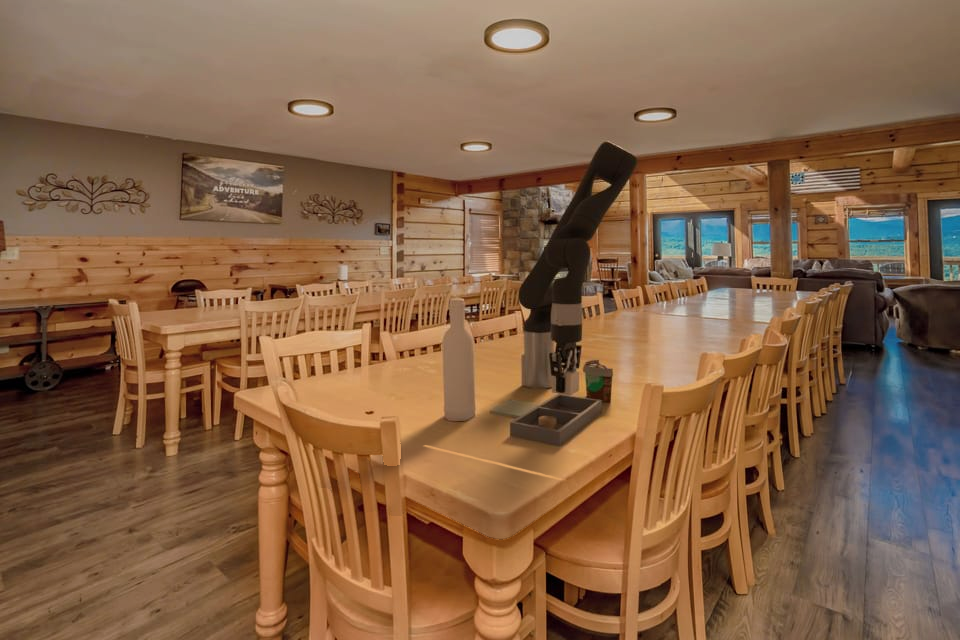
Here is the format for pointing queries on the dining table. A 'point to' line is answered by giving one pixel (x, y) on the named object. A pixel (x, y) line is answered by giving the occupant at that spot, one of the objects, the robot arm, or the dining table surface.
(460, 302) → the bottle
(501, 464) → the dining table surface
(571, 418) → the organiser tray
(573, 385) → the letter cube
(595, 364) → the food container
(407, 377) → the dining table surface
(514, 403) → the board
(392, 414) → the dining table surface
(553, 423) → the tan oval stone
